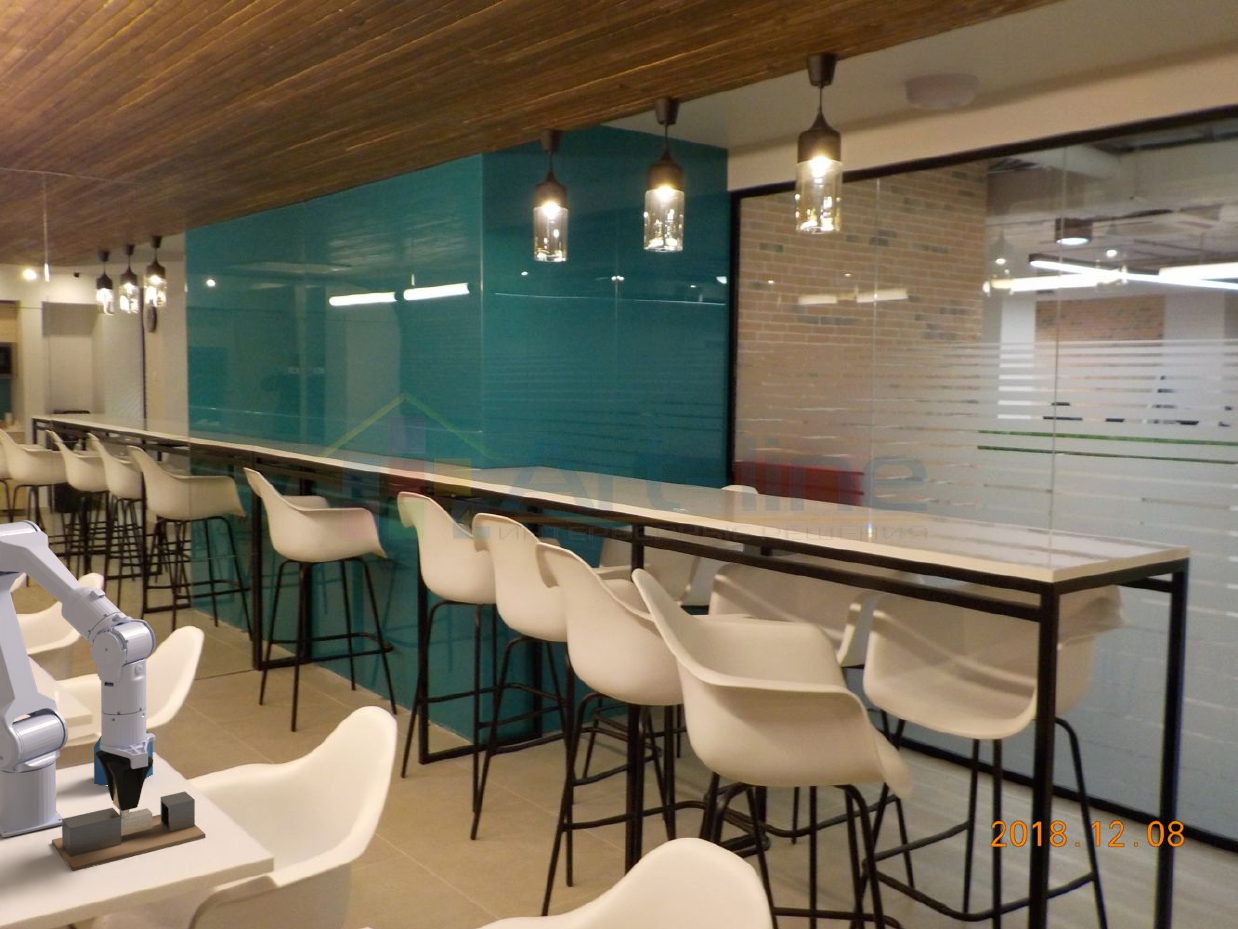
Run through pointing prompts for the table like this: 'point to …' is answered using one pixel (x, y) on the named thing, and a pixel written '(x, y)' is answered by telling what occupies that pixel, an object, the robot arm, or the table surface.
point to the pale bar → (132, 817)
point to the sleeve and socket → (106, 825)
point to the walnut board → (132, 845)
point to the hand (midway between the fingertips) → (124, 804)
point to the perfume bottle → (99, 772)
